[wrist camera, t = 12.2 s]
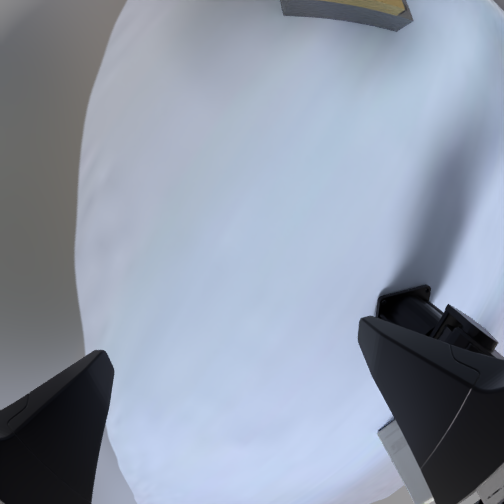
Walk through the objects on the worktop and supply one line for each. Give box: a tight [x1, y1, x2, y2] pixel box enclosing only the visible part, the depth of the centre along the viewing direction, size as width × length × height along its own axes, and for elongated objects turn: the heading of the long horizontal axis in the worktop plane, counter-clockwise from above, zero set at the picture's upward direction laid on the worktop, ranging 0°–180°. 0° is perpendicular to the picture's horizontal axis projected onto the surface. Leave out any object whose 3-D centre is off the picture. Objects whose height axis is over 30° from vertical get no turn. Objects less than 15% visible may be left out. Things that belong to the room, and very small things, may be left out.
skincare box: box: [377, 420, 434, 504], centre depth 25 cm, size 8×7×16 cm
